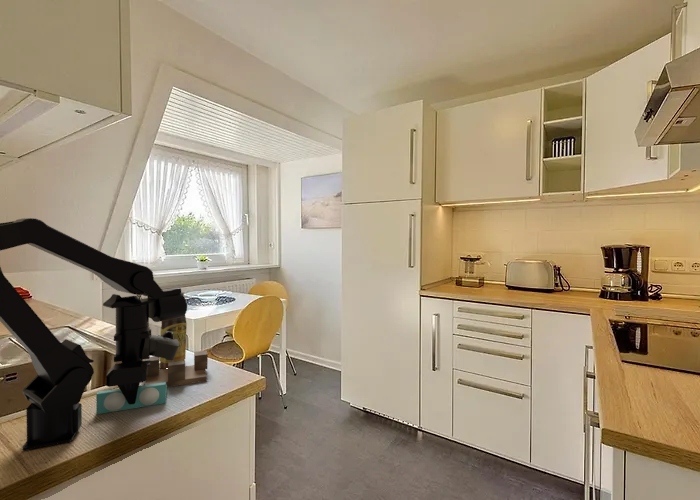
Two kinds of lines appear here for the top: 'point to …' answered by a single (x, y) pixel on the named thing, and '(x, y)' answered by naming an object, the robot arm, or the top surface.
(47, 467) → the top surface
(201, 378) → the stand
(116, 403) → the glasses
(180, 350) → the sauce bottle
